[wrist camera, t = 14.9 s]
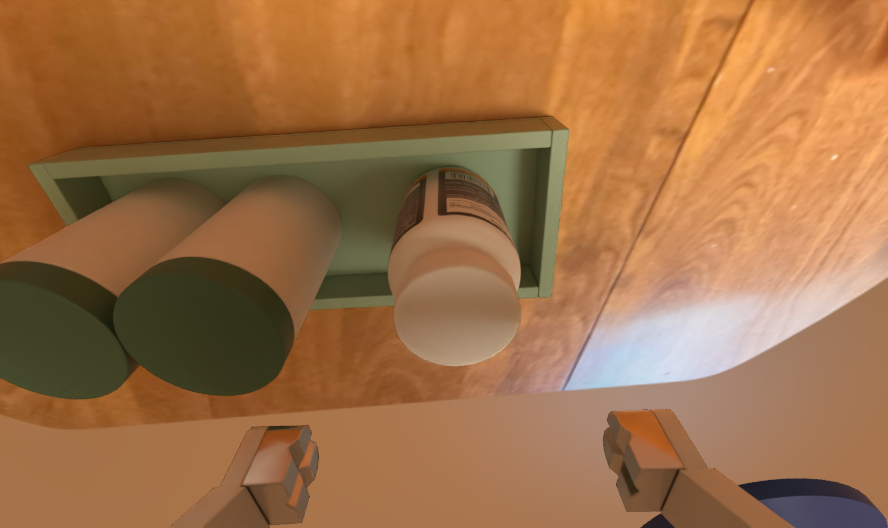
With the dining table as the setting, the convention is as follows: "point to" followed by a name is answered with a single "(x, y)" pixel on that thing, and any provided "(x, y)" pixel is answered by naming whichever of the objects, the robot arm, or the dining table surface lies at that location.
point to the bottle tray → (347, 186)
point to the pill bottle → (453, 270)
